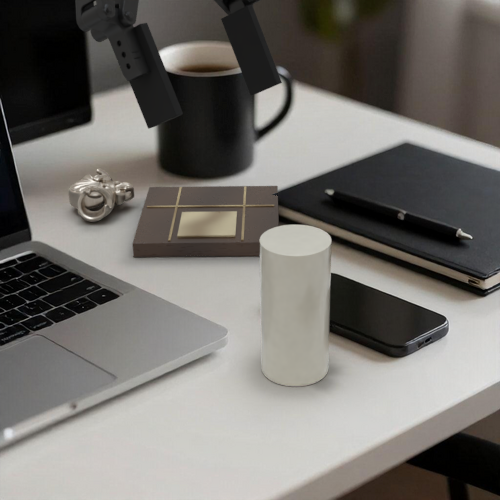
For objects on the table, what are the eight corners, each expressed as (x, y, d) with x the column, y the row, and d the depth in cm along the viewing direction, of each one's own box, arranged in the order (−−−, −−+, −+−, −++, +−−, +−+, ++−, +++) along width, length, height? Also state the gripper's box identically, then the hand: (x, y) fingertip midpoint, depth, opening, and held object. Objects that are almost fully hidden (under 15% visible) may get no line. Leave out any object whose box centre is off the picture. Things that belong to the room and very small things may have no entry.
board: (277, 198, 101) (277, 183, 100) (279, 256, 88) (279, 240, 88) (149, 199, 101) (148, 185, 101) (133, 257, 89) (132, 241, 88)
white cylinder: (326, 348, 74) (329, 223, 69) (330, 386, 69) (333, 255, 64) (261, 349, 74) (259, 224, 69) (260, 386, 69) (259, 256, 64)
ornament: (136, 221, 96) (134, 189, 94) (69, 226, 95) (65, 194, 94) (133, 192, 103) (131, 161, 102) (71, 196, 102) (68, 165, 101)
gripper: (174, -143, 78) (265, 93, 81) (-57, -159, 58) (73, 156, 61) (242, -189, 74) (336, 62, 76) (17, -222, 54) (154, 119, 56)
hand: (220, 104), depth 68 cm, fingers open, 13 cm apart
